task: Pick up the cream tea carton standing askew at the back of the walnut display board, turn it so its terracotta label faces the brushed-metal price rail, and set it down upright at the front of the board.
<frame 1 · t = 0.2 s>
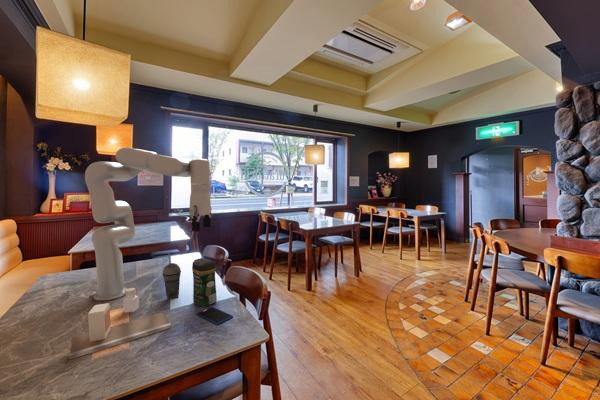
hand: (201, 229, 109), 31 cm above the table, tool pointing down, fingers open, 9 cm apart
cell phone: (214, 317, 98), on the table
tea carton: (115, 332, 85), point 1 cm above the table, touching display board
coffee jar: (205, 302, 110), on the table
beverage cup: (172, 298, 114), on the table
pepper shaker: (131, 313, 101), on the table
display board: (123, 335, 86), on the table
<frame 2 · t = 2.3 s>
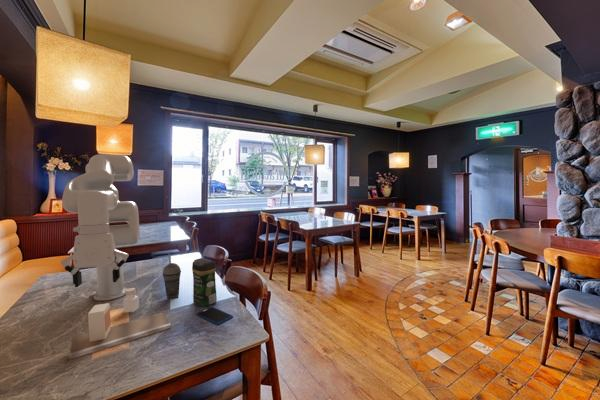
hand: (97, 283, 82), 19 cm above the table, tool pointing down, fingers open, 9 cm apart
nothing on the table moved.
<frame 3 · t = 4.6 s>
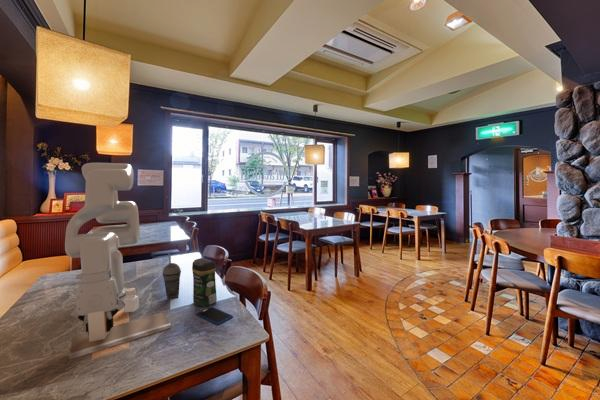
hand: (100, 330, 83), 3 cm above the table, tool pointing down, fingers closed on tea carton, 4 cm apart
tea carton: (115, 332, 85), point 2 cm above the table, touching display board, gripper
everything else where it was.
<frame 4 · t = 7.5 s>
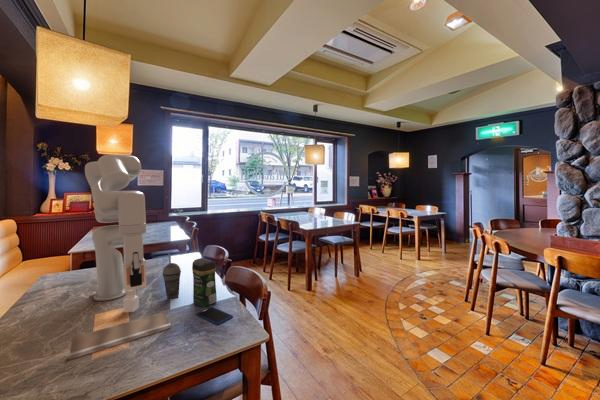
hand: (135, 283, 86), 17 cm above the table, tool pointing down, fingers closed on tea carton, 4 cm apart
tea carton: (136, 291, 83), point 16 cm above the table, touching gripper
everything else where it was.
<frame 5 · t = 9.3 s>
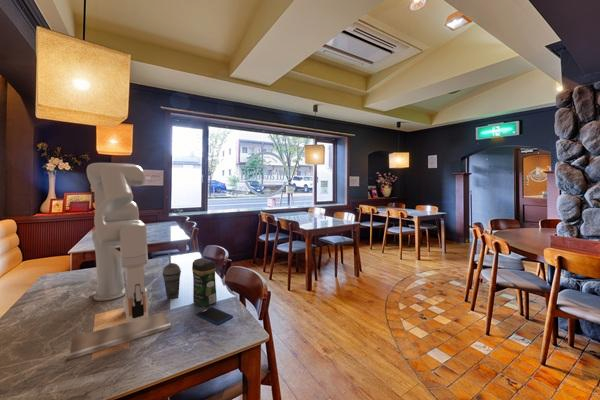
hand: (137, 313, 87), 7 cm above the table, tool pointing down, fingers closed on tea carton, 4 cm apart
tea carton: (138, 322, 84), point 5 cm above the table, touching gripper
everything else where it was.
when the fingers open (4 cm above the table, at t = 10.6 s): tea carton drops 1 cm, resting on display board.
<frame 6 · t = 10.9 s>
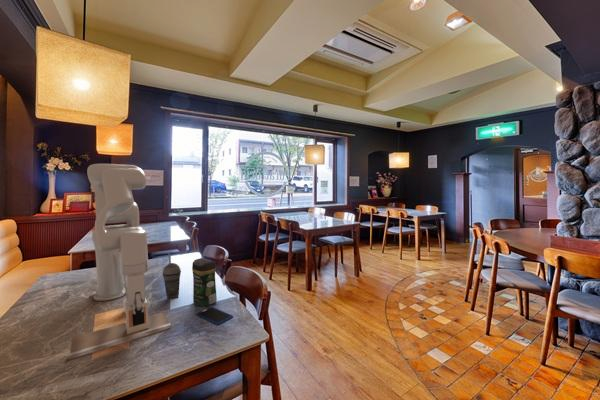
hand: (137, 319, 87), 5 cm above the table, tool pointing down, fingers open, 7 cm apart
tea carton: (138, 333, 84), point 2 cm above the table, touching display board
everything else where it was.
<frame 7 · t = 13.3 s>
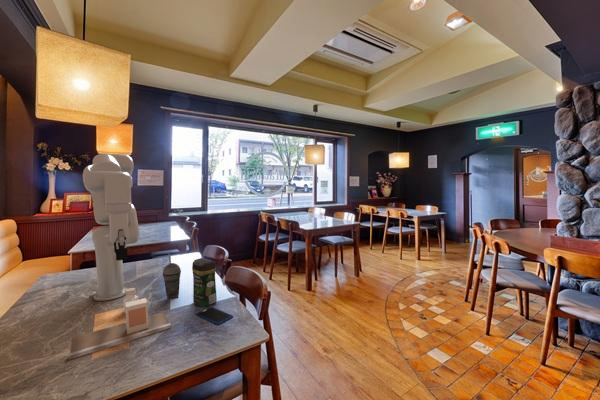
hand: (120, 255, 92), 25 cm above the table, tool pointing down, fingers open, 9 cm apart
nothing on the table moved.
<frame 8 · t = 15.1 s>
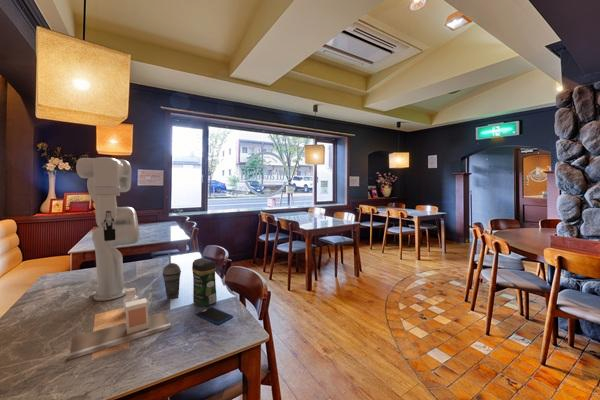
hand: (109, 238, 95), 30 cm above the table, tool pointing down, fingers open, 9 cm apart
nothing on the table moved.
at the end: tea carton 0.3 cm from the target spot, point 1.5 cm above the table; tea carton tilted 0°; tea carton touching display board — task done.
